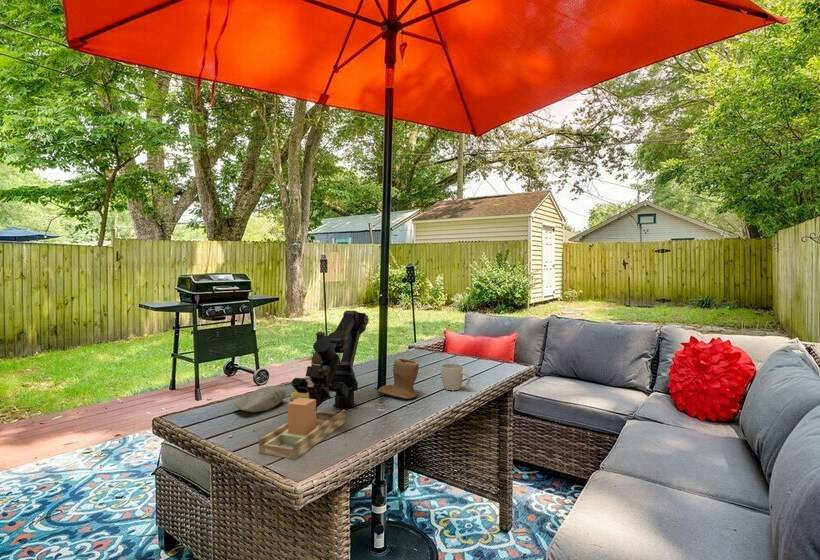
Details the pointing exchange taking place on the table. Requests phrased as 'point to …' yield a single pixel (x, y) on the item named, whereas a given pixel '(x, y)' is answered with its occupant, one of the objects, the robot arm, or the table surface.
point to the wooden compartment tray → (300, 436)
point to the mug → (453, 376)
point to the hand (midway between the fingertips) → (310, 411)
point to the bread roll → (299, 395)
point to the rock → (261, 399)
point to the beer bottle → (315, 359)
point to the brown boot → (402, 379)
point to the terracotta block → (302, 416)
